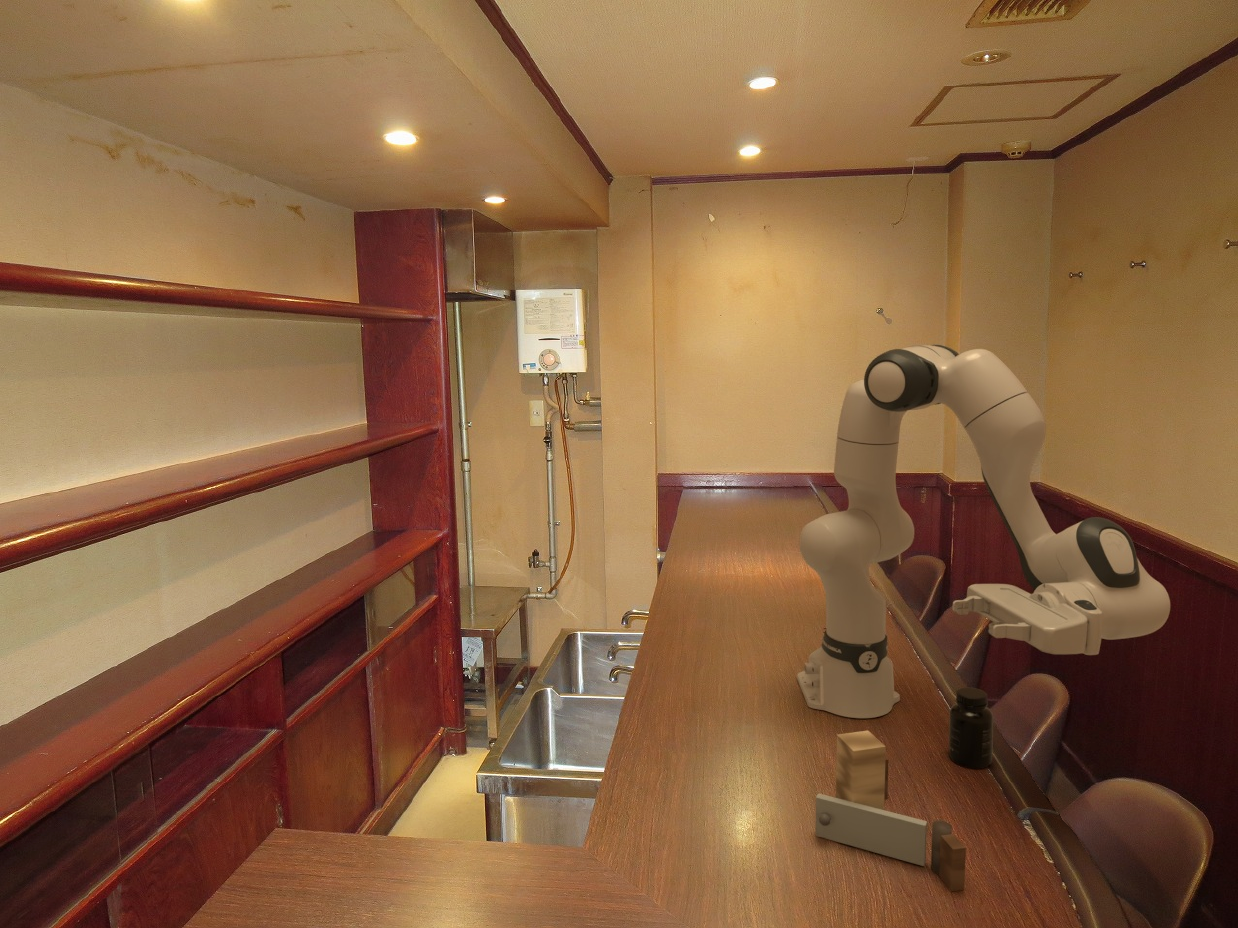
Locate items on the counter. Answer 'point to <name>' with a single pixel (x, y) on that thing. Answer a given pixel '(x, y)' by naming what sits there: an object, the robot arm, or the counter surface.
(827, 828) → the gate
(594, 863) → the counter surface
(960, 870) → the gate frame
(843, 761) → the beech block
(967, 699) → the supplement bottle
